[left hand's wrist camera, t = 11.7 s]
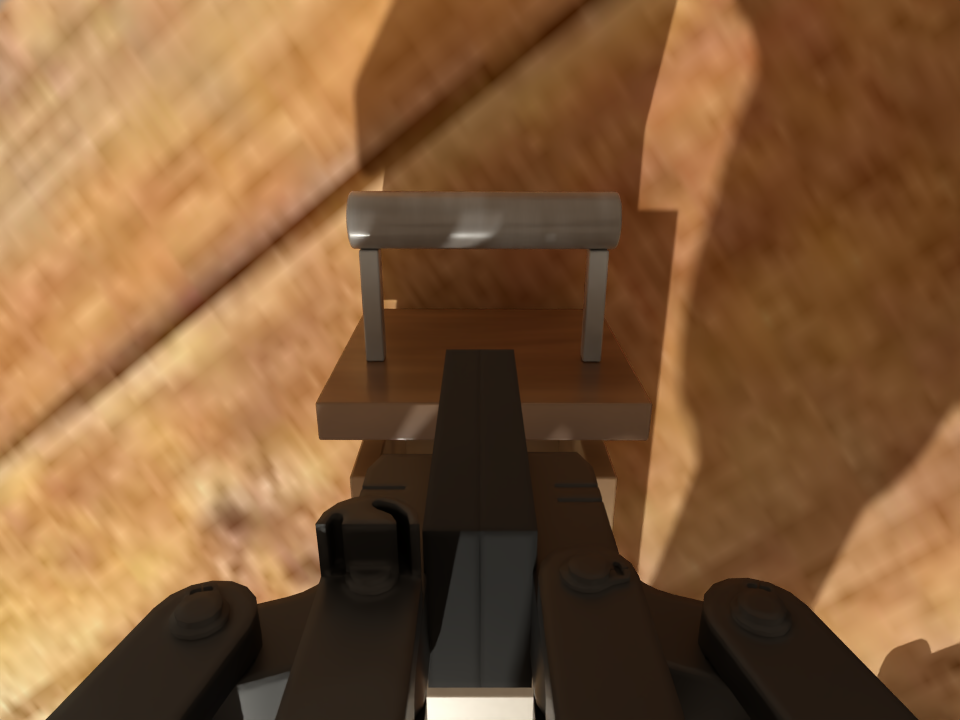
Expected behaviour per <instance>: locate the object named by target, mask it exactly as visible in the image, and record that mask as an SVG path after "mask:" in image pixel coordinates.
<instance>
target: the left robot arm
mask: <svg viewBox="0 0 960 720" xmlns="http://www.w3.org/2000/svg"><path fill="white" fill-rule="evenodd" d="M316 533H317V542H318V551H319V560H320V569H321V579H320V582H319V584H318V585H316V586H314V587H312V588H310V589H308V590H306V591H304V592H302V593H299V594H295V595H292V596H289V597H286V598H281V599H277V600H273V601H268V602H264V603H260V604H257V601H256V597H255V596H254V594H253V593H252V592H251V591H250V590H249V589H248V588H247V587H246V586H243V585H240V584H238V583H235V582H232V581H209V582H204V583H200V584H195V585H191V586H189V587H187V588H185V589H182V590H180V591H178V592H176V593H174V594H172V595H170V596H169V597H167V598H166V599H165V600H164V601H162V602H161V603H160V604H158V605H157V606H156V607H155V608H153V610H152V611H151V612H150V613H149V614H148V615H147V616H146V617H145V618H144V619H143V620H142V621H141V622H140V623H139V624H138V625H137V626H136V627H135V628H134V629H133V630H132V631H131V632H130V633H129V634H128V635H127V636H126V637H125V638H124V639H123V640H122V642H121V643H120V644H119V645H118V646H117V647H116V648H115V649H114V650H113V651H112V652H111V653H110V654H109V655H108V656H107V657H106V658H105V659H104V660H103V661H102V662H101V663H100V664H99V665H98V666H97V667H96V668H95V669H94V670H93V671H92V672H91V674H90V675H89V676H88V677H87V678H86V679H85V680H84V681H83V682H82V683H81V684H80V685H79V686H78V687H77V688H76V689H75V690H74V691H73V692H72V693H71V694H70V695H69V696H68V697H67V698H66V699H65V700H64V701H63V702H62V703H61V704H60V706H59V707H58V708H57V709H56V710H55V711H54V712H53V713H52V714H51V715H50V716H49V717H48V718H47V719H46V720H427V695H426V694H427V683H428V688H532V680H533V691H534V695H533V720H918V719H917V718H916V717H915V716H914V715H913V714H912V713H911V712H910V711H909V710H908V709H907V708H906V706H905V705H904V704H903V703H902V702H901V701H900V700H899V699H898V698H897V697H896V696H895V695H894V694H893V693H892V692H891V691H890V690H889V689H888V688H887V687H886V686H885V685H884V684H883V683H882V682H881V681H880V680H879V679H878V678H877V677H876V676H875V675H874V674H873V673H872V672H871V671H870V670H869V669H868V668H867V667H866V665H865V664H864V663H863V662H862V661H861V660H860V659H859V658H858V657H857V656H856V655H855V654H854V653H853V652H852V651H851V650H850V649H849V648H848V647H847V646H846V645H845V644H844V643H843V642H842V641H841V640H840V639H839V638H838V637H837V636H836V635H835V634H834V633H833V632H832V631H831V630H830V629H829V628H828V627H827V626H826V624H825V623H824V622H823V621H822V620H821V619H820V618H819V617H818V616H817V615H816V614H815V613H814V612H813V611H812V610H811V609H810V608H809V607H808V606H807V605H806V604H804V603H803V602H802V601H801V600H799V599H798V598H797V597H795V596H794V595H793V594H792V593H790V592H789V591H786V590H784V589H782V588H780V587H778V586H775V585H773V584H771V583H769V582H764V581H759V580H755V579H750V578H731V579H726V580H723V581H721V582H718V583H715V584H713V585H712V586H711V588H710V589H709V590H708V591H707V592H706V593H705V595H704V601H699V600H694V599H690V598H686V597H681V596H677V595H673V594H670V593H667V592H663V591H660V590H657V589H655V588H653V587H651V586H649V585H647V584H645V583H643V582H642V581H641V580H640V578H639V575H638V574H637V572H636V571H635V569H634V567H633V566H632V564H631V563H630V562H629V561H627V560H626V559H625V558H623V557H622V556H621V555H619V552H618V549H617V546H616V542H615V539H614V536H613V532H612V529H611V526H610V522H609V519H608V516H607V513H606V509H605V506H604V503H603V502H602V496H601V493H600V489H599V487H598V483H597V479H596V476H595V473H594V469H593V467H592V466H591V465H590V464H589V463H588V462H587V461H586V460H585V459H584V458H583V457H582V456H581V455H580V454H579V453H577V452H527V445H526V438H525V430H524V423H523V415H522V407H521V400H520V392H519V385H518V377H517V370H516V362H515V354H514V349H446V354H445V362H444V370H443V377H442V385H441V392H440V400H439V407H438V415H437V423H436V430H435V438H434V445H433V453H432V454H383V455H382V456H381V457H379V458H378V459H377V460H376V461H375V462H374V463H373V464H372V465H371V466H370V467H369V468H368V469H367V472H366V475H365V479H364V482H363V485H362V490H361V492H360V495H359V497H354V498H351V499H348V500H345V501H342V502H339V503H337V504H336V505H334V506H333V507H331V508H330V509H328V510H327V511H325V512H324V513H323V514H322V516H321V517H320V518H319V520H318V521H317V523H316Z"/></svg>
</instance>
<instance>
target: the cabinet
mask: <svg viewBox="0 0 960 720" xmlns="http://www.w3.org/2000/svg"><path fill="white" fill-rule="evenodd" d="M426 695H427V720H533V695H534V691H533V680H532V688H428V683H427V694H426Z"/></svg>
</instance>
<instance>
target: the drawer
mask: <svg viewBox="0 0 960 720" xmlns="http://www.w3.org/2000/svg"><path fill="white" fill-rule="evenodd" d="M346 219H347V232H348V238H349V242H350V245H351V247H352V248H354V249H360V251H359V260H360V275H361V290H362V305H363V315H362V317H361V319H360V321H359V323H358V325H357V327H356V329H355V331H354V332H353V334H352V336H351V338H350V340H349V342H348V344H347V346H346V347H345V349H344V351H343V353H342V355H341V357H340V359H339V361H338V363H337V364H336V366H335V368H334V370H333V372H332V374H331V376H330V378H329V379H328V381H327V383H326V385H325V387H324V389H323V391H322V393H321V394H320V396H319V398H318V400H317V402H316V412H317V422H318V432H319V439H320V440H363V441H362V444H361V447H360V450H359V453H358V455H357V458H356V461H355V464H354V467H353V470H352V473H351V476H350V485H351V497H352V498H354V497H359V495H360V492H361V490H362V485H363V482H364V479H365V475H366V472H367V469H368V468H369V467H370V466H371V465H372V464H373V463H374V462H375V461H376V460H377V459H378V458H379V457H381V456H382V455H383V454H432V453H433V445H434V438H435V430H436V423H437V415H438V407H439V400H440V392H441V385H442V377H443V370H444V362H445V354H446V349H514V354H515V362H516V370H517V377H518V385H519V392H520V400H521V407H522V415H523V423H524V430H525V438H526V445H527V452H577V453H579V454H580V455H581V456H582V457H583V458H584V459H585V460H586V461H587V462H588V463H589V464H590V465H591V466H592V467H593V469H594V473H595V476H596V479H597V483H598V487H599V489H600V493H601V496H602V502H603V503H604V506H605V509H606V513H607V516H608V519H609V522H610V526H611V529H612V530H613V520H614V509H615V498H616V487H617V476H616V473H615V471H614V468H613V465H612V462H611V459H610V457H609V454H608V451H607V448H606V445H605V443H604V440H648V439H649V430H650V421H651V412H652V403H651V401H650V399H649V397H648V395H647V394H646V392H645V390H644V388H643V386H642V385H641V383H640V381H639V379H638V377H637V376H636V374H635V372H634V370H633V368H632V367H631V365H630V363H629V361H628V359H627V358H626V356H625V354H624V352H623V350H622V349H621V347H620V345H619V343H618V341H617V340H616V338H615V336H614V334H613V332H612V331H611V329H610V327H609V325H608V323H607V322H606V320H605V318H604V313H605V299H606V286H607V273H608V260H609V251H608V250H607V249H615V248H616V247H617V245H618V243H619V240H620V235H621V227H622V204H621V198H620V195H619V193H617V192H510V191H352V192H350V193H349V196H348V200H347V211H346ZM381 249H587V258H586V274H585V290H584V306H583V309H384V299H383V281H382V262H381Z"/></svg>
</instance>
